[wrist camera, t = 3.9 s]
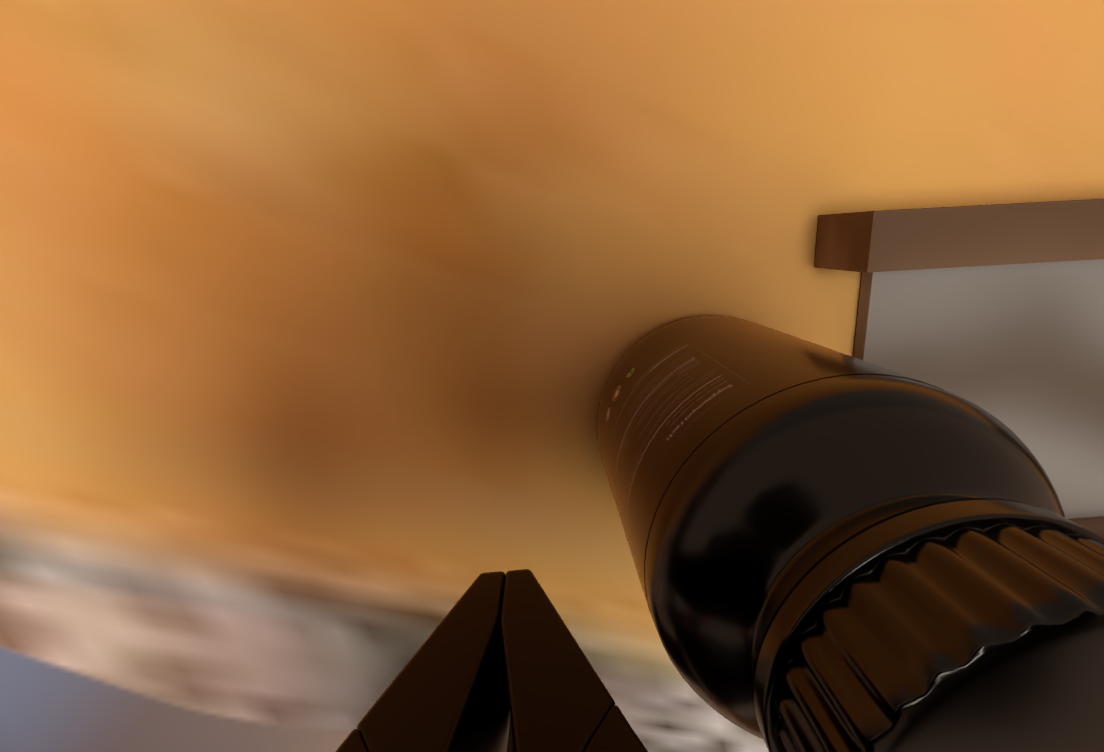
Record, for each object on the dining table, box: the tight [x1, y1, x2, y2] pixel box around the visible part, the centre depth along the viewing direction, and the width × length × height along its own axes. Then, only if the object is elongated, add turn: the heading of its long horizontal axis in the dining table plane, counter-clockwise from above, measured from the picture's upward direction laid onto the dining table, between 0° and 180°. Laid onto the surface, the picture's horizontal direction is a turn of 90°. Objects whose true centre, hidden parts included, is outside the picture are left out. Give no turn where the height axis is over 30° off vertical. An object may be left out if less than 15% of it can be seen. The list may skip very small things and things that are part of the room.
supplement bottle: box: [597, 315, 1104, 752], centre depth 11 cm, size 7×7×12 cm
